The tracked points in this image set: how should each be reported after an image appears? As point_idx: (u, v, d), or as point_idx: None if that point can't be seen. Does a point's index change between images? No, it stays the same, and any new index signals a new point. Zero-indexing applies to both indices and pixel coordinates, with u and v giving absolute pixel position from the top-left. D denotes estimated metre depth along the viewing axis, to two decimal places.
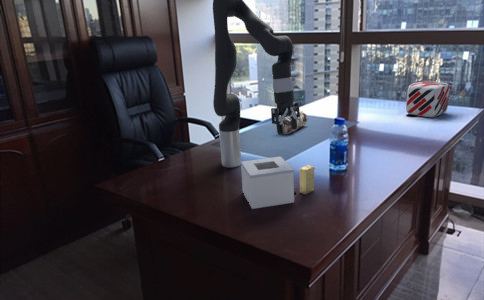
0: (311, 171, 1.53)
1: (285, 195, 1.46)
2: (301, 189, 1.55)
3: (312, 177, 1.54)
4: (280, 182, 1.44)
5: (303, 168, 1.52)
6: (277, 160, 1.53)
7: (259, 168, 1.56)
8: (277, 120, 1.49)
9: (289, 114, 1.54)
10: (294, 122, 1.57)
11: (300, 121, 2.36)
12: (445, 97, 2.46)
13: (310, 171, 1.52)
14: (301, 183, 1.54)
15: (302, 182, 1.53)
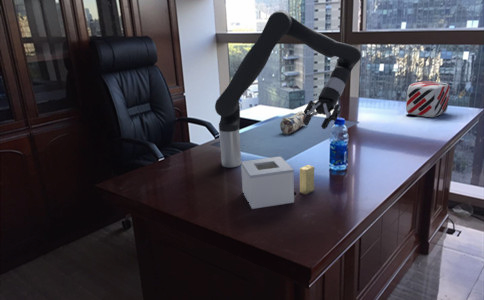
0: (311, 171, 1.53)
1: (285, 195, 1.46)
2: (301, 189, 1.55)
3: (312, 177, 1.54)
4: (280, 182, 1.44)
5: (303, 168, 1.52)
6: (277, 160, 1.53)
7: (259, 168, 1.56)
8: None
9: None
10: (309, 119, 1.58)
11: (300, 121, 2.36)
12: (445, 97, 2.46)
13: (310, 171, 1.52)
14: (301, 183, 1.54)
15: (302, 182, 1.53)
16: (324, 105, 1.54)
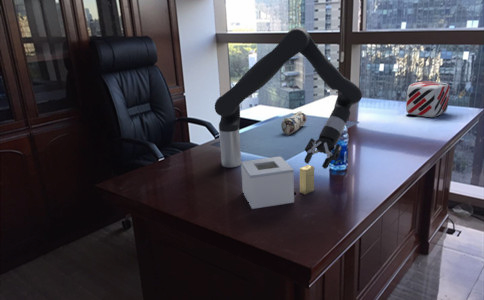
0: (311, 171, 1.53)
1: (285, 195, 1.46)
2: (301, 189, 1.55)
3: (312, 177, 1.54)
4: (280, 182, 1.44)
5: (303, 168, 1.52)
6: (277, 160, 1.53)
7: (259, 168, 1.56)
8: None
9: None
10: (310, 157, 1.60)
11: (300, 121, 2.37)
12: (445, 97, 2.46)
13: (310, 171, 1.52)
14: (301, 183, 1.54)
15: (302, 182, 1.53)
16: (325, 144, 1.56)
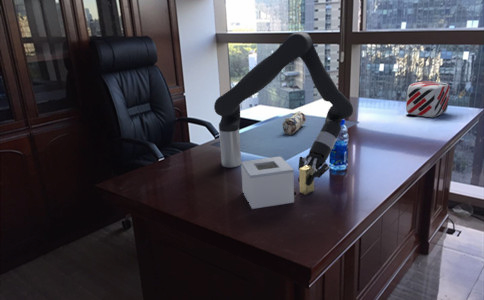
0: None
1: (285, 195, 1.46)
2: (301, 189, 1.54)
3: None
4: (280, 182, 1.44)
5: (303, 168, 1.52)
6: (277, 160, 1.53)
7: (259, 168, 1.56)
8: None
9: None
10: None
11: (301, 121, 2.37)
12: (445, 97, 2.46)
13: (310, 171, 1.52)
14: (301, 183, 1.54)
15: (302, 182, 1.53)
16: (314, 160, 1.53)
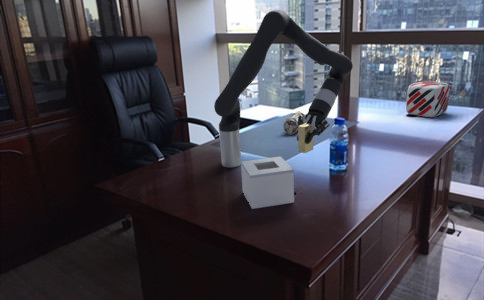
0: None
1: (285, 195, 1.46)
2: (300, 148, 1.49)
3: None
4: (280, 182, 1.44)
5: (302, 126, 1.47)
6: (277, 160, 1.53)
7: (259, 168, 1.56)
8: None
9: None
10: None
11: None
12: (445, 97, 2.46)
13: (309, 128, 1.47)
14: (300, 142, 1.48)
15: (301, 141, 1.48)
16: (314, 118, 1.48)
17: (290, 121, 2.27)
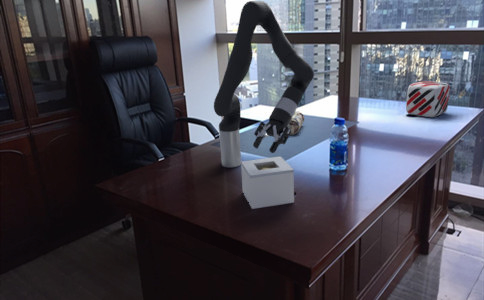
0: None
1: (285, 195, 1.46)
2: None
3: None
4: (280, 182, 1.44)
5: (264, 168, 1.50)
6: (277, 160, 1.53)
7: (259, 168, 1.56)
8: None
9: None
10: (260, 141, 1.50)
11: (301, 121, 2.37)
12: (445, 97, 2.46)
13: None
14: None
15: None
16: (274, 127, 1.45)
17: (292, 121, 2.27)
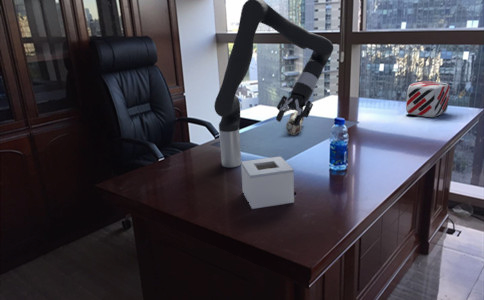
0: None
1: (285, 195, 1.46)
2: None
3: None
4: (280, 182, 1.44)
5: None
6: (277, 160, 1.53)
7: (259, 168, 1.56)
8: None
9: None
10: (282, 115, 1.57)
11: (301, 121, 2.37)
12: (445, 97, 2.46)
13: None
14: None
15: None
16: (296, 101, 1.52)
17: (293, 121, 2.27)
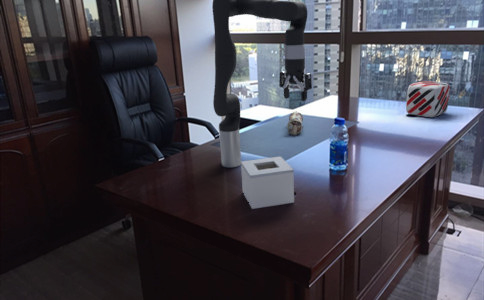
0: None
1: (285, 195, 1.46)
2: None
3: None
4: (280, 182, 1.44)
5: None
6: (277, 160, 1.53)
7: (259, 168, 1.56)
8: None
9: None
10: (288, 90, 1.59)
11: (301, 121, 2.37)
12: (445, 97, 2.46)
13: None
14: None
15: None
16: (294, 78, 1.51)
17: (294, 121, 2.27)
